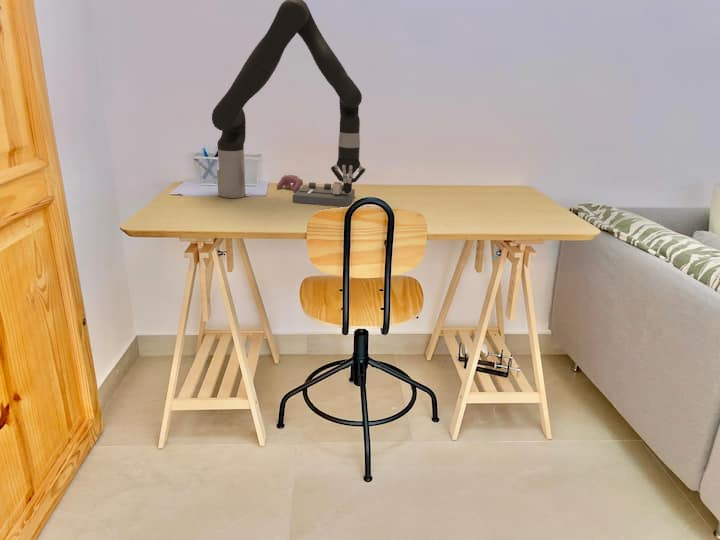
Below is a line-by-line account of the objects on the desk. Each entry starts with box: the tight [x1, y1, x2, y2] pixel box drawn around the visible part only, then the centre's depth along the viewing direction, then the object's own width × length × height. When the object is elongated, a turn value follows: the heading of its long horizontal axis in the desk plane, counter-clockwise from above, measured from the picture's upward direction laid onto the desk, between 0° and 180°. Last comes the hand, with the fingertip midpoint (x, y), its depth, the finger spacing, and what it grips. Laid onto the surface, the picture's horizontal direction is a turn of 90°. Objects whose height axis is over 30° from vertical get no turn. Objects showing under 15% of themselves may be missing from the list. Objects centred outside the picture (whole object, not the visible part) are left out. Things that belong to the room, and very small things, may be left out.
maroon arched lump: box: [276, 174, 304, 194], centre depth 217 cm, size 10×5×7 cm, turn 58°
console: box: [292, 182, 356, 207], centre depth 206 cm, size 20×16×5 cm
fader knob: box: [332, 181, 343, 194], centre depth 202 cm, size 2×4×4 cm, turn 170°
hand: (347, 192), depth 202 cm, fingers closed
